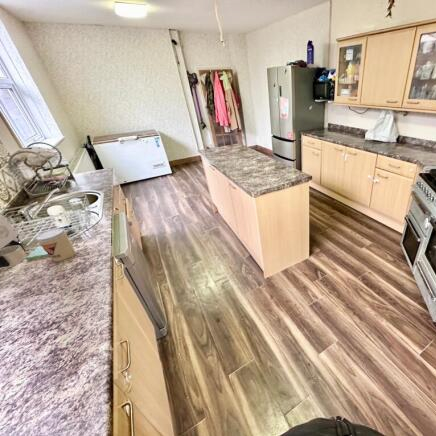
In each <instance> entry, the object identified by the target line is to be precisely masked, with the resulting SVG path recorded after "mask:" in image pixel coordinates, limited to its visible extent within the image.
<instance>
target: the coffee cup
mask: <svg viewBox="0 0 436 436" xmlns="http://www.w3.org/2000/svg"><path fill="white" fill-rule="evenodd" d="M35 241H36V242H37V243H38V244H39V245H40V246H42V247H43V249H44V250H45V251H46V252H47V253H48V254H49V257H50V258H51V259H52V260H53V262H61V261H64V260H67V259H69V258H72V257H73V256H75V254H76V249H75V248H74V246H73V244H72V242H71V240H70V238H69V236H68V234H67V232H66V230H65V229H64V228H60V227H57V228H52V229H49V230H46V231H43V232H41V233H40V234H38V235H36V237H35Z"/></svg>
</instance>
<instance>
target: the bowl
mask: <svg viewBox="0 0 436 436" xmlns="http://www.w3.org/2000/svg"><path fill="white" fill-rule="evenodd" d="M0 256H4V258H5V259H6V260H7V261H8V262H9V264H10V265H9V266H7V267H6V268H8V267H12V266H14V265H17V264H20V263H22V262H23V261H25V260H26V257H27V256H28V254H27V252H25V251H24V250H23V249H22V247H21V246H20V245H13V246H8V245H7V246H4V247H3V248H1V249H0Z"/></svg>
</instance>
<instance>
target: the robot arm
mask: <svg viewBox="0 0 436 436" xmlns="http://www.w3.org/2000/svg"><path fill="white" fill-rule="evenodd" d="M13 245H20V246H21V247H22V249H23V250H24V251H25V253H27V251H26V249H25V247H24V246H23V245H22V244H21V240H20V238H19V230H18V228H17V227H14V226H13V225H12V223H11V222H10V221H9V220H8V219H7V218H6V217H5V216H4V215H2V214H1V213H0V249H2V248H5V247H8V246H13ZM9 265H10V264H9V262H8V261H7V260H6V259H5V258H4V256H0V268H1V269H2V268H8V267H7V266H9ZM9 267H10V266H9Z"/></svg>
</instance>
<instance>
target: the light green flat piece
mask: <svg viewBox="0 0 436 436" xmlns="http://www.w3.org/2000/svg"><path fill="white" fill-rule="evenodd" d="M47 257H50V256H49V254H48V253H47V252H46V251H45V250H44V249H43V247H42V246H41V245H40V246H39V245H38V246H37V247H36V248H35V249H34V250H33V251H31V252H30V253H29V254H27V257H26V258H25V260H26V261H31V260H32V261H33V260H36V259H42V258H47Z"/></svg>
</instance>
